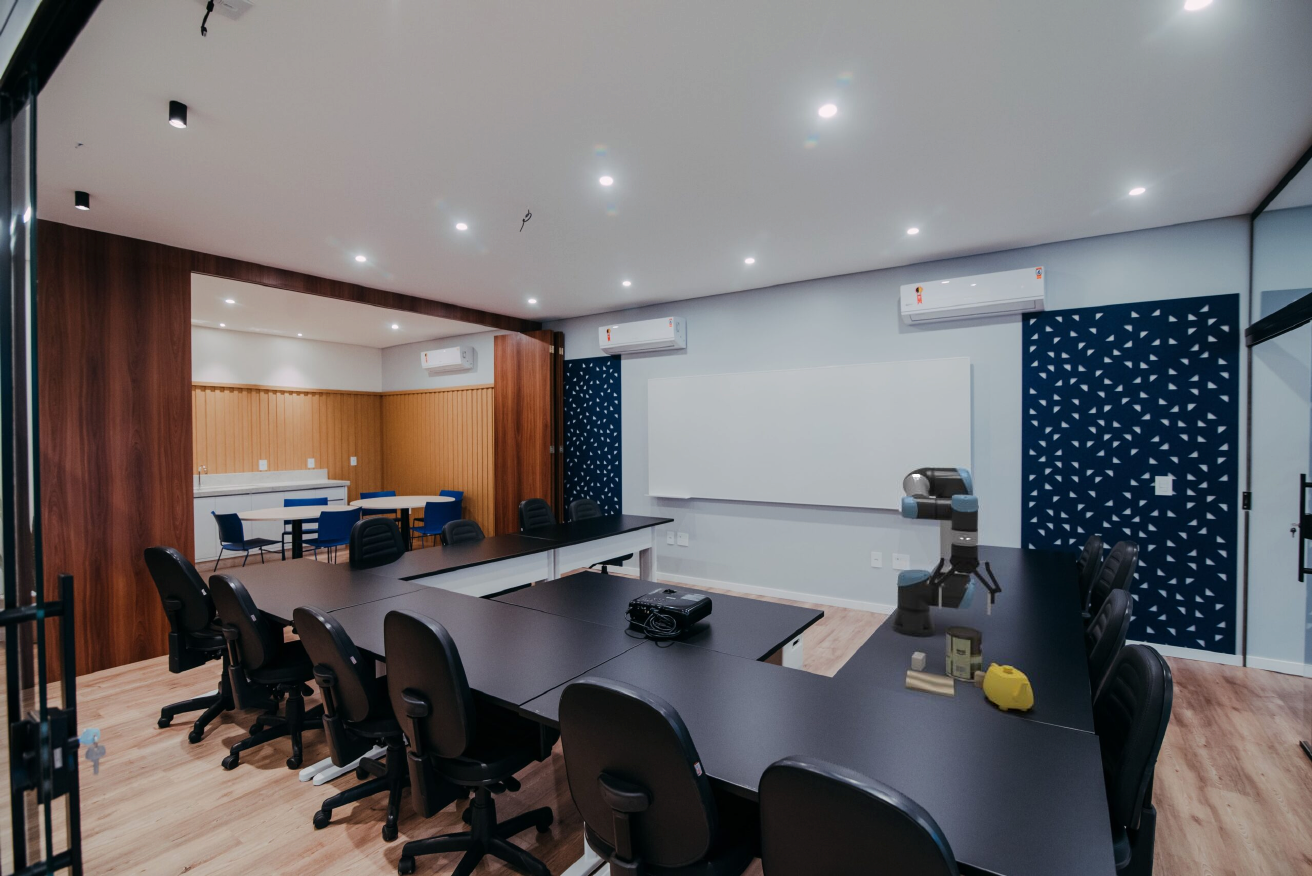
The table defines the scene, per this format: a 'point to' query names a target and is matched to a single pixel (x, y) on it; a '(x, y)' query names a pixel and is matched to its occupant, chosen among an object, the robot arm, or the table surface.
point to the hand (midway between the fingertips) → (964, 610)
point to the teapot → (1008, 688)
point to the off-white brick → (918, 661)
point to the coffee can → (963, 652)
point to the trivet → (930, 683)
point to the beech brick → (979, 679)
